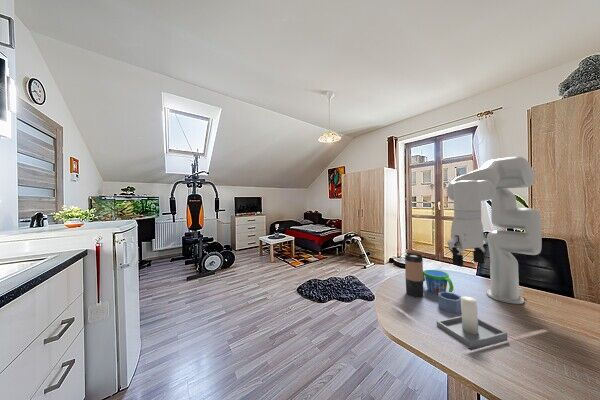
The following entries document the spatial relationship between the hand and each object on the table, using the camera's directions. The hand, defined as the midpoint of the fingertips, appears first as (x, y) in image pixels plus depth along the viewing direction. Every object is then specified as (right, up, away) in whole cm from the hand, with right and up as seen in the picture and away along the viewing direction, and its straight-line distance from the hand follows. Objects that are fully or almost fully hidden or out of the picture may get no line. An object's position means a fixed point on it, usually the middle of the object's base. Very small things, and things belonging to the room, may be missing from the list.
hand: (468, 264), depth 74 cm
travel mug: (-3, -25, +28) cm, 38 cm away
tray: (0, -24, -1) cm, 24 cm away
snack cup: (+9, -24, +31) cm, 41 cm away
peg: (0, -23, -1) cm, 23 cm away
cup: (+4, -24, +15) cm, 29 cm away
